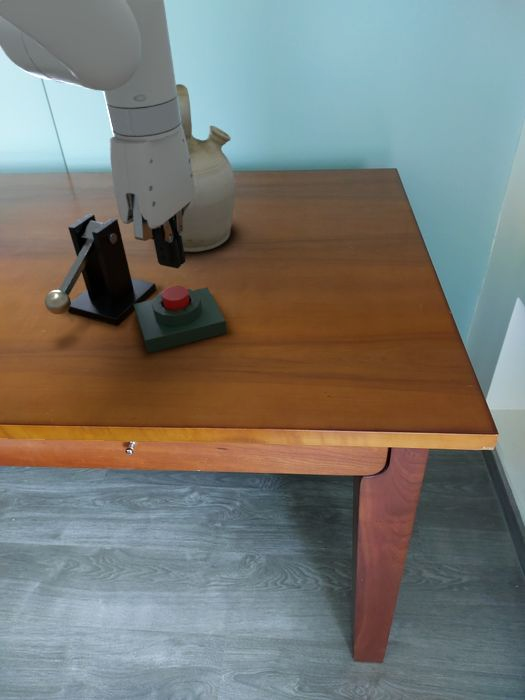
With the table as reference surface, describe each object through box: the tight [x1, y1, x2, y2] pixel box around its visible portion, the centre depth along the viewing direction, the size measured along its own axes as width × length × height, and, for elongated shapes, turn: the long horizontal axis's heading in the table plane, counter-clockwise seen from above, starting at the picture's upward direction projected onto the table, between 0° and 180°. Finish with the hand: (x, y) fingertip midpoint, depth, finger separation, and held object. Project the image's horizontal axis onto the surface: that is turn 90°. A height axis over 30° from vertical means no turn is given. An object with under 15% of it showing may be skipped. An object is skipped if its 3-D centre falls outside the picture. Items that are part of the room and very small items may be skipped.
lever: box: [44, 221, 104, 315], centre depth 71 cm, size 14×3×3 cm, turn 155°
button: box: [161, 285, 190, 311], centre depth 72 cm, size 4×4×2 cm
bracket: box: [67, 213, 157, 326], centre depth 76 cm, size 10×9×13 cm
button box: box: [134, 287, 227, 354], centre depth 73 cm, size 11×9×4 cm
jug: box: [159, 83, 236, 253], centre depth 87 cm, size 15×16×25 cm
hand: (172, 263), depth 68 cm, fingers closed
